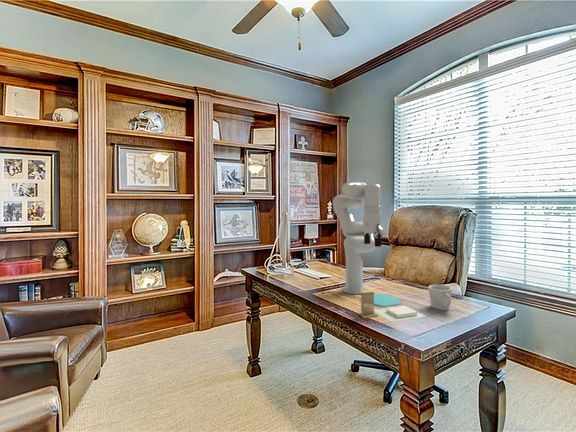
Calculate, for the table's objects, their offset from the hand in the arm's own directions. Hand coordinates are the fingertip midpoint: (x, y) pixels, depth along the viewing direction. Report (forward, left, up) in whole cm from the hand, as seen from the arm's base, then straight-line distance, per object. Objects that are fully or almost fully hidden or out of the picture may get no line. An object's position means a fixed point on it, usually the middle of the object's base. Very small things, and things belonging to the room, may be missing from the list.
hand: (372, 245), depth 157 cm
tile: (+10, +6, -29) cm, 31 cm away
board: (+14, +5, -30) cm, 34 cm away
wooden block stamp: (+11, -9, -30) cm, 33 cm away
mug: (+15, +28, -31) cm, 44 cm away
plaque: (-5, +8, -31) cm, 32 cm away
